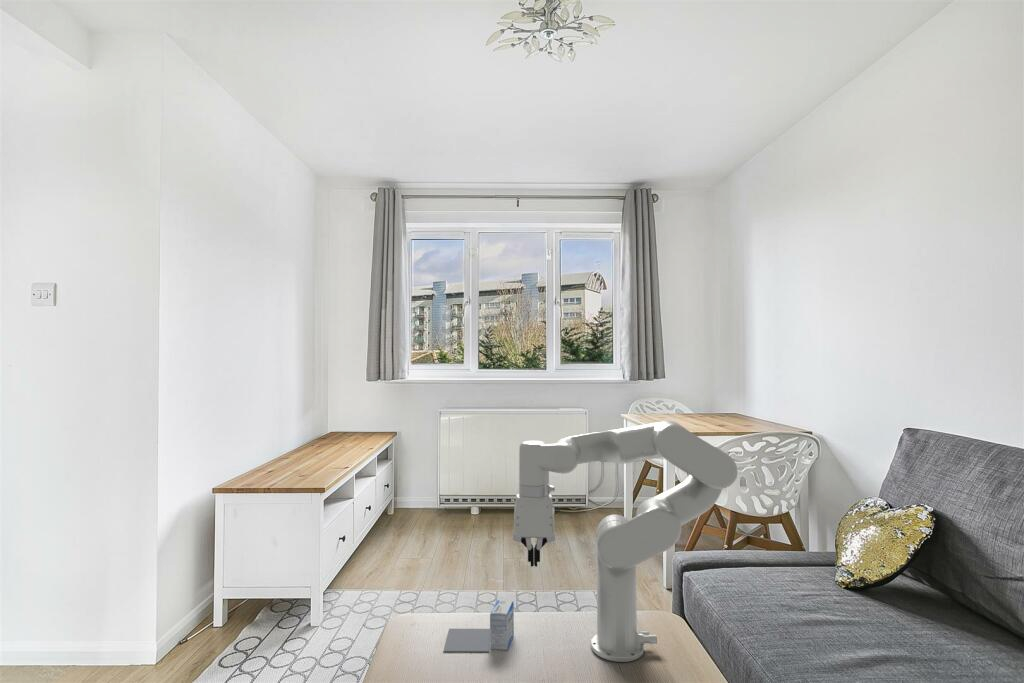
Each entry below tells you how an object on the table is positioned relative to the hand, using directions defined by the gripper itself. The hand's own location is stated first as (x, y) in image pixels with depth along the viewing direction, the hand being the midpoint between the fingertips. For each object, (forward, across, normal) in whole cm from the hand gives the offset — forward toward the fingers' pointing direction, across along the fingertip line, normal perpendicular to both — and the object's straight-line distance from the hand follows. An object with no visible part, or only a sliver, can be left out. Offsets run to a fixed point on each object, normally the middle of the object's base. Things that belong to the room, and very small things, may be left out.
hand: (533, 564), depth 133 cm
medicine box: (+19, +8, 0) cm, 21 cm away
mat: (+19, +16, 0) cm, 25 cm away
